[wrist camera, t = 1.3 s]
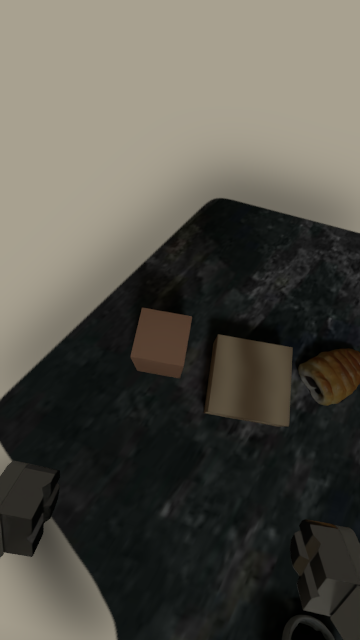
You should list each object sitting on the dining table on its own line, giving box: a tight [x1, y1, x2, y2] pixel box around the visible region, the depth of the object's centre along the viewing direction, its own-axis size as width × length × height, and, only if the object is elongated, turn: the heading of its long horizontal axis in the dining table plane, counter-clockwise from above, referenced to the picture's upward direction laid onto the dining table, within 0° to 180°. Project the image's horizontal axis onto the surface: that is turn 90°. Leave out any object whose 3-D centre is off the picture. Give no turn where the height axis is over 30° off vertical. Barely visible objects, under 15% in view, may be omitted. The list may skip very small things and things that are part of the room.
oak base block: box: [204, 334, 293, 426], centre depth 40 cm, size 10×10×4 cm
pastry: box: [298, 348, 360, 405], centre depth 42 cm, size 9×7×4 cm
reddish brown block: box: [131, 308, 192, 378], centre depth 39 cm, size 6×6×9 cm
